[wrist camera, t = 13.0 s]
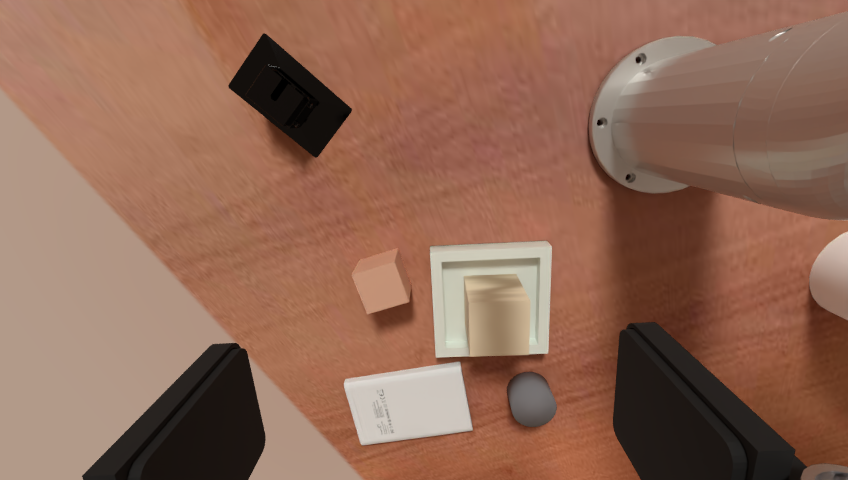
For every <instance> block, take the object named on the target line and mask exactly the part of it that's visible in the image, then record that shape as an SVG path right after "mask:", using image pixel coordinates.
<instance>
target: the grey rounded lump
mask: <svg viewBox="0 0 848 480" xmlns="http://www.w3.org/2000/svg"><path fill="white" fill-rule="evenodd" d="M507 395H508V399H509V402H510V406H511V410H512V413H513V416H514V418H515V419H516V420H517V421H518V422H519V423H520V424H522V425H525V426H528V427H537V426H541V425H544V424H546V423H548V422H549V421H550V420H551V419H552V418H553V417H554V415H555V413H556V408H557V406H556V402H555V399H554V397H553V395H552V392H551V390H550V388H549V385H548V383H547V381H546V380H545V378H544V377H543V376H541V375H540V374H537V373H534V372H523V373H520V374H518V375H516V376H514V377H513V378H512V379H511V380H510V382H509V383H508V386H507Z"/></svg>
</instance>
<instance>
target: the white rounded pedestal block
mask: <svg viewBox="0 0 848 480" xmlns="http://www.w3.org/2000/svg"><path fill="white" fill-rule="evenodd" d="M809 288H810V291H811V294H812V296H813V298H814V299H815V301H816V302H817V303H818V304H819V306H821V307H823V308H824V309H826V310H828V311H829V312H831V313H834V314H836V315H838V316H840V317H842V318H844V319H846V320H848V232H846V233H844V234H842V235H840V236H838V237H837V238H836V239H834V240H833V241H832V242H830V243H829V244H828V245H827V246H826V247H825V248H824V249H823V250H822V252H821V253H820V254H819V255H818V257H817V259H816V261H815V262H814V264H813V266H812V270H811V273H810V277H809Z"/></svg>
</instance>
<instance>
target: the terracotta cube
mask: <svg viewBox="0 0 848 480" xmlns="http://www.w3.org/2000/svg"><path fill="white" fill-rule="evenodd" d="M352 277H353V280H354V282H355V285H356V287H357V290H358V292H359V295H360V297H361V300H362V302H363V305H364V307H365V310H366V312H367V314H370V313H373V312H377V311H380V310H384V309H387V308H391V307H394V306H397V305H401V304H404V303H408V302H409V300H410V293H411V282H410V279H409V277H408V274H407V271H406V268H405V265H404V263H403V260H402V257H401V254H400V252H399V249H398V248H397V249H394V250H390V251H387V252H384V253H381V254H377V255H374V256H371V257H368V258H364V259H361V260H359V262H358V264H357V265H356V267H355V269H354V271H353V273H352Z"/></svg>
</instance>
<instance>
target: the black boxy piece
mask: <svg viewBox="0 0 848 480" xmlns="http://www.w3.org/2000/svg"><path fill="white" fill-rule="evenodd" d="M229 88H230V89H231V90H232V91H234V92H235V93H236V94H237V95H239V96H240V97H241V98H242V99H243V100H245V101H246V102H247V103H248V104H250V105H251V106H252V107H253V108H255V109H256V110H257V111H258V112H260V113H261V114H262V115H263V116H264V117H266V118H267V119H268V120H269V121H271V122H272V123H273V124H274V125H276V126H277V127H278V128H279V129H281V130H282V131H283V132H284V133H286V134H287V135H288V136H289V137H290V138H292V139H293V140H294V141H295V142H297V143H298V144H299V145H300V146H302V147H303V148H304V149H305V150H307V151H308V152H309V153H310V154H312V155H313V156H314V157H318V156H319V154H320V153H321V152H322V150H323V149H324V148H325V146H326V145H327V144H328V142H329V141H330V140H331V138H332V137H333V136H334V134H335V133H336V132H337V130H338V129H339V128H340V126H341V125H342V124H343V122H344V121H345V120H346V118H347V117H348V116H349V114H350V113H351V111H352V109H351V108H350V107H349V106H348V105H347V104H345V103H344V102H343V101H342V100H341V99H340V98H339V97H337V96H336V95H335V94H334V93H333V92H332V91H331V90H329V89H328V88H327V87H326V86H325V85H324V84H323V83H321V82H320V81H319V80H318V79H317V78H316V77H315V76H313V75H312V74H311V73H310V72H309V71H308V70H307V69H305V68H304V67H303V66H302V65H301V64H300V63H299V62H297V61H296V60H295V59H294V58H293V57H292V56H291V55H289V54H288V53H287V52H286V51H285V50H284V49H283V48H281V47H280V46H279V45H278V44H277V43H276V42H275V41H273V40H272V39H271V38H270V37H269V36H268V35H267V34H263V35H262V36H261V38H260V39H259V41H258V42H257V44H256V45H255V47H254V48H253V50H252V51H251V52H250V54H249V55H248V57H247V58H246V60H245V61H244V63H243V64H242V66H241V67H240V69H239V70H238V72H237V73H236V75H235V76H234V78H233V79H232V81H231V82H230V84H229Z"/></svg>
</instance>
